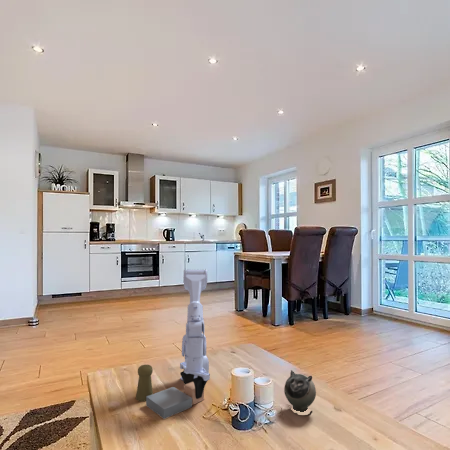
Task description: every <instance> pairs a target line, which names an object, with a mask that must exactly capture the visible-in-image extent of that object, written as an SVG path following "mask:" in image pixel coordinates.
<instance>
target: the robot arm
mask: <svg viewBox="0 0 450 450" xmlns="http://www.w3.org/2000/svg"><path fill="white" fill-rule="evenodd" d="M182 277H183V287H184V290H186V291H188V294H189V303H188V304H187V315H186V316H187V317H186V319H187V320H186V321H187V322H186V323H185V334H184V335H183V336H182V339H181V340H182V342H181V356H182V357H184V361H183V362H180V363H179V368H180V369H181V370H182V371H181V372H180V374H179V375H180V378H179V379H180V380H181V381H183V386H184V385H185V384H188V383H190V382H194V386H195V396H196V399H199V398H201V397H202V394H203V390H204V391H205V387H206V385H207V383H208V381H210V380H211V376H210V375H211V374H210V373H209V371H210V370H209V369H210V368H209V367H210V365H209V364H210V361H209V358H208V356H207V337H206V335H205V319H204V305H203V304H202V303H201V294H202V291H204V290H206V289H207V288H206V287H208V286H207V284H208V270H207V269H206V268H205V269H204V268H202V269H201V268H200V269H199V268H197V269H196V268H192V269H191V268H187V269H186V268H184V269H183V276H182Z"/></svg>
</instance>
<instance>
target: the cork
mask: <svg viewBox="0 0 450 450" xmlns="http://www.w3.org/2000/svg"><path fill="white" fill-rule="evenodd" d="M152 374H153V367H152V365H150V364H142V365H139V366H138V369H137V375H138V381H137V387H136V392H135V393H136V394H135V400H136V401H138V402H146V396H149V395H152V394H154V393H153V382H152Z"/></svg>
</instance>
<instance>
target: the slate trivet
mask: <svg viewBox="0 0 450 450" xmlns="http://www.w3.org/2000/svg"><path fill="white" fill-rule="evenodd" d="M145 406H146V407H147V408H149V410H151V411H152V412H154V413H155V414H157V415H158V416H159V417H161V418H162V419H163V420H166V419H168V418H170V417H172V416H175V415H177V414H179V413H182V412H184V411H186V410H188V409H190V408H193V405H192V397H190V396H188V395H187V394H185V393H184V391H181V390H180V389H178V388H176V387H174V386H171V387H168V388H166V389H162V390H161V391H158V392H155V393H153V394H152V395H149V396H146V401H145Z"/></svg>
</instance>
